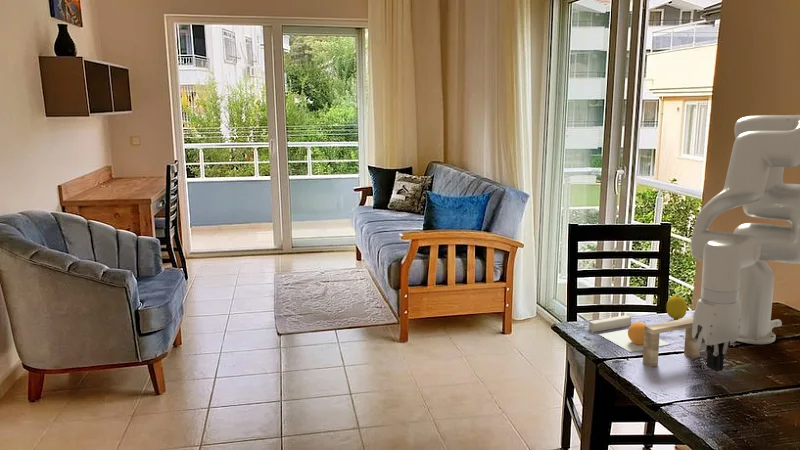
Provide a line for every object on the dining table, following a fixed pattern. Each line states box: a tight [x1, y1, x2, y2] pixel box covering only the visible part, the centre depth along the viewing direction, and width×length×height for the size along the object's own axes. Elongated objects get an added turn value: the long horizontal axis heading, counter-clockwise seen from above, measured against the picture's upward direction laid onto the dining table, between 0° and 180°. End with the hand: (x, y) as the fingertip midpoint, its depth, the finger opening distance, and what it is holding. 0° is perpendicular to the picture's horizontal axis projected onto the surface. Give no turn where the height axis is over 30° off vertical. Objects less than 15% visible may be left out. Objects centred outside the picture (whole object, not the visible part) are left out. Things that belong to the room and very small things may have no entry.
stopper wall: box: [588, 314, 632, 333], centre depth 172 cm, size 13×2×2 cm, turn 108°
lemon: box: [665, 294, 688, 321], centre depth 175 cm, size 6×6×8 cm
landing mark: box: [598, 328, 671, 353], centre depth 163 cm, size 13×13×1 cm
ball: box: [628, 321, 648, 345], centre depth 159 cm, size 6×6×6 cm
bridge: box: [642, 316, 701, 368], centre depth 149 cm, size 3×15×10 cm, turn 108°
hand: (714, 368), depth 138 cm, fingers closed
